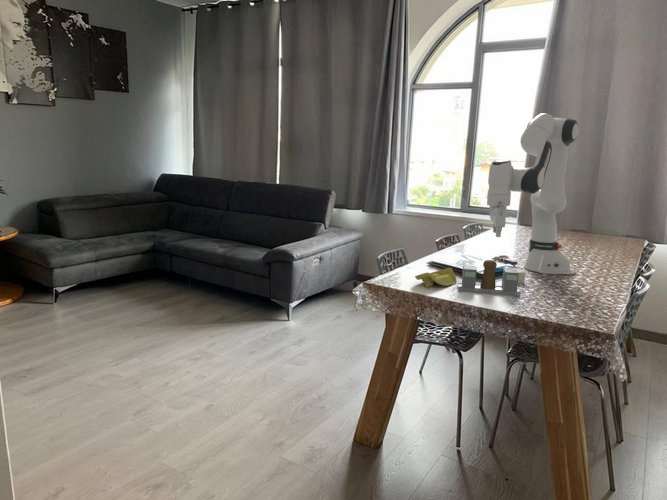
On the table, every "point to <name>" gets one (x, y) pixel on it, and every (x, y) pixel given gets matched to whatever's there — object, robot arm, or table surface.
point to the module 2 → (510, 280)
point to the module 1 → (469, 276)
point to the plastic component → (438, 277)
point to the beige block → (521, 276)
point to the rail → (488, 290)
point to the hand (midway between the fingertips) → (496, 234)
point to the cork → (488, 275)
